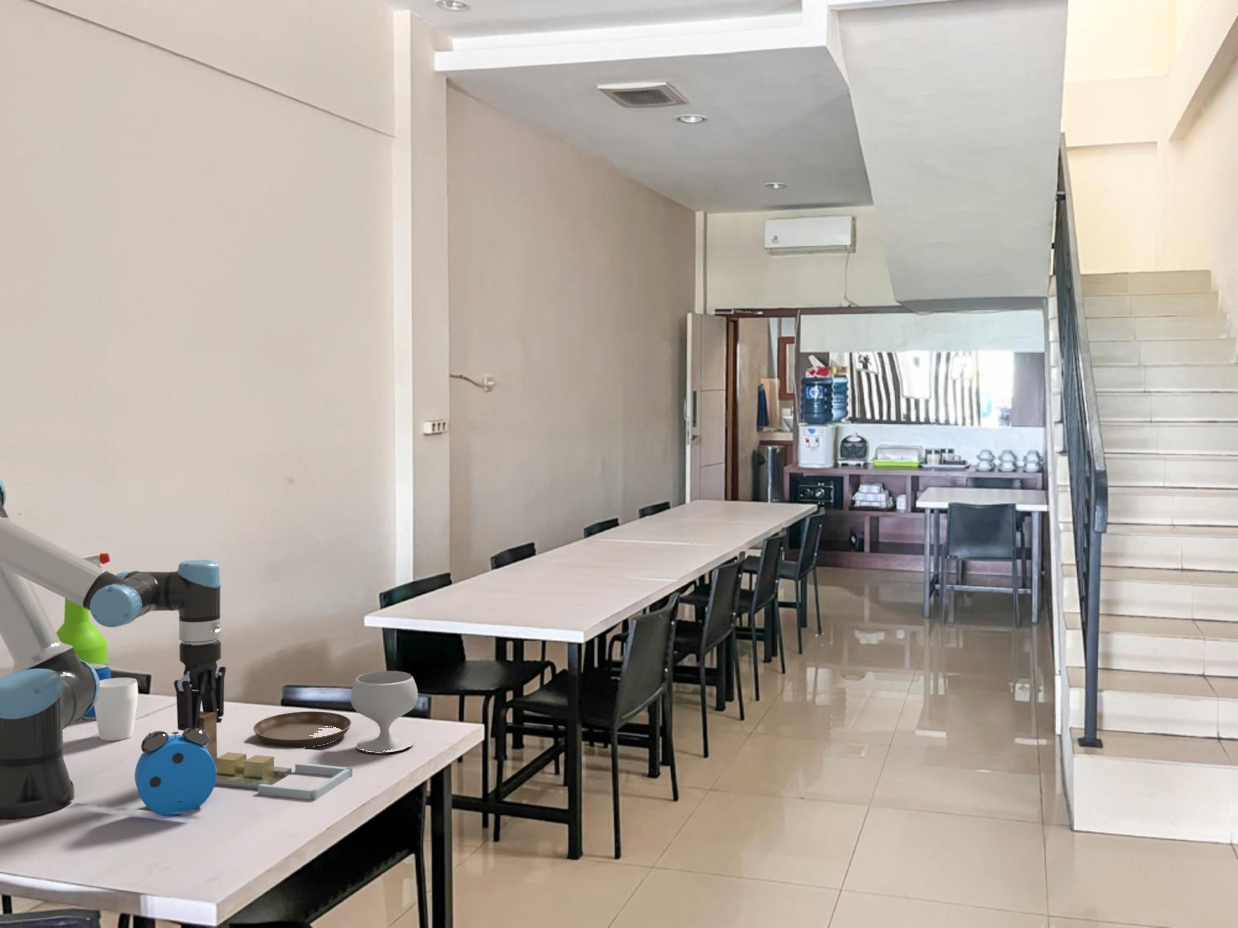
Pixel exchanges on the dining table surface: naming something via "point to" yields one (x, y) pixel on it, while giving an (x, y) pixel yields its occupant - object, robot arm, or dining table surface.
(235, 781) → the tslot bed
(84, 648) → the spray bottle
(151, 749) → the alarm clock
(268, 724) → the plant saucer
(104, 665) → the beverage can
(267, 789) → the tray
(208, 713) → the brown wooden block
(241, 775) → the chip
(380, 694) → the chalice
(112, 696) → the cup
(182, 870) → the dining table surface
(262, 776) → the chip
